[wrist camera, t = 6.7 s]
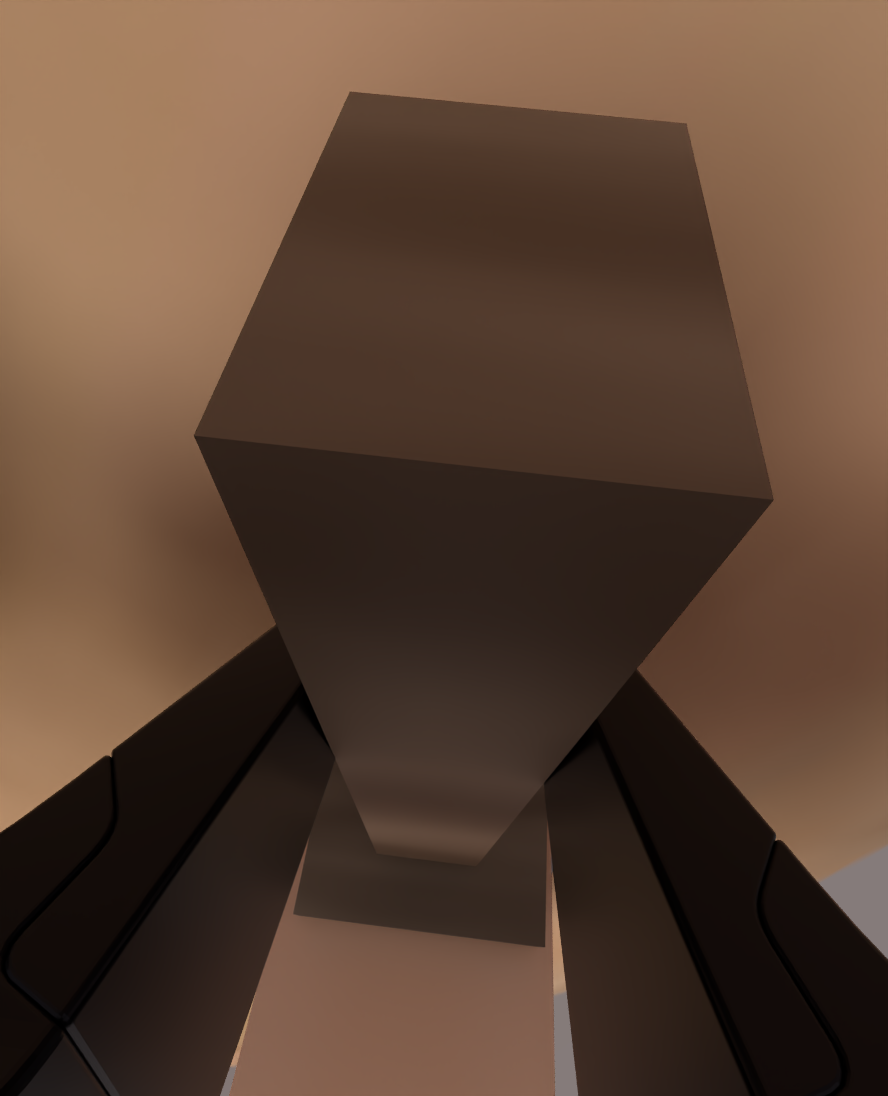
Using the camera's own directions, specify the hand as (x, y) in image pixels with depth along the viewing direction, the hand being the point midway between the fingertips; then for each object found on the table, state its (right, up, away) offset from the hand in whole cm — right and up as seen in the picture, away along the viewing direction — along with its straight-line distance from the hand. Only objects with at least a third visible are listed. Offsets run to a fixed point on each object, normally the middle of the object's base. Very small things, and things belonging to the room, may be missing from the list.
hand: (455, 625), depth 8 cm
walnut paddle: (0, 0, +3) cm, 3 cm away
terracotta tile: (-1, -6, +11) cm, 13 cm away
